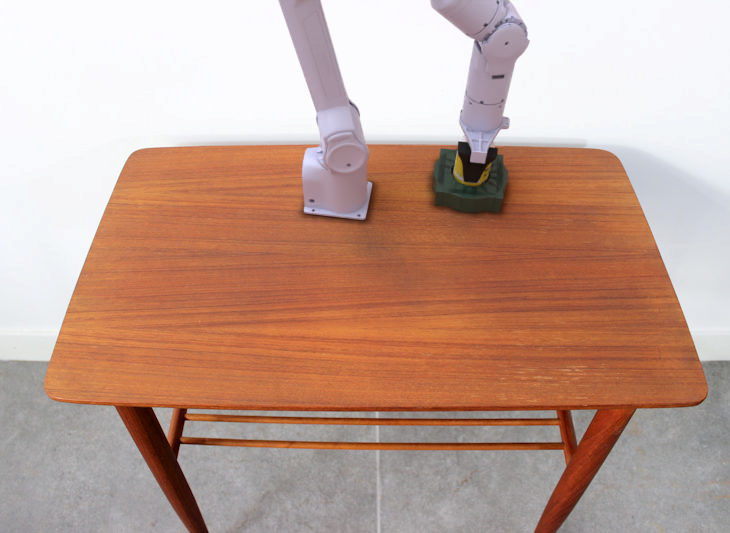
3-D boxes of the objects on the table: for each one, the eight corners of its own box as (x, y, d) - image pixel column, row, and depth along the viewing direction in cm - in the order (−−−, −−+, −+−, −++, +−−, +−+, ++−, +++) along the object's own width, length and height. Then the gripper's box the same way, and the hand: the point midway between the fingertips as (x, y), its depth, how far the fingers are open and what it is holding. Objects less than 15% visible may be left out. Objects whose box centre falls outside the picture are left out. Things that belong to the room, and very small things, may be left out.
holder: (429, 208, 92) (431, 194, 90) (434, 158, 99) (436, 144, 97) (504, 216, 91) (507, 202, 89) (504, 166, 98) (507, 152, 96)
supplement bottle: (485, 194, 92) (497, 144, 84) (450, 189, 93) (459, 139, 85) (488, 170, 95) (499, 120, 88) (454, 165, 96) (462, 115, 88)
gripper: (516, 129, 77) (497, 203, 87) (515, 64, 86) (498, 139, 96) (461, 123, 77) (448, 198, 88) (466, 60, 86) (454, 135, 97)
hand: (471, 167), depth 92 cm, fingers closed on supplement bottle, 5 cm apart
